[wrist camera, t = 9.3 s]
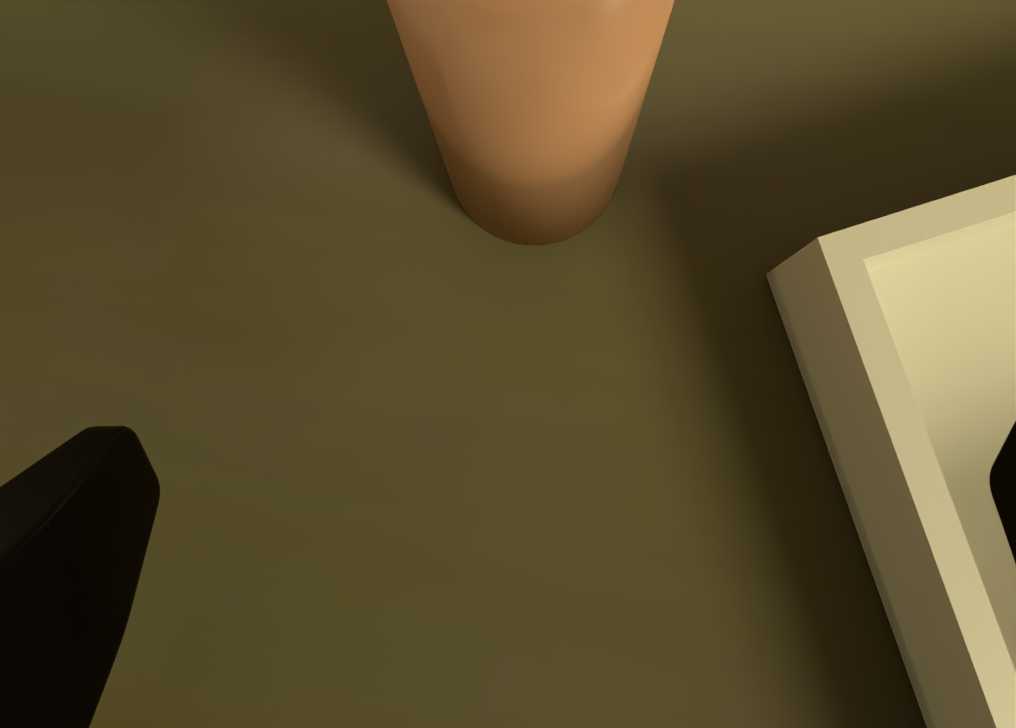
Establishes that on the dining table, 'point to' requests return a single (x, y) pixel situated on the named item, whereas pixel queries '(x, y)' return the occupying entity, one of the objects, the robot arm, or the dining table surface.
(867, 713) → the dining table surface
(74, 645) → the robot arm
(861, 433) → the tote
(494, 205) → the tan upright cylinder
